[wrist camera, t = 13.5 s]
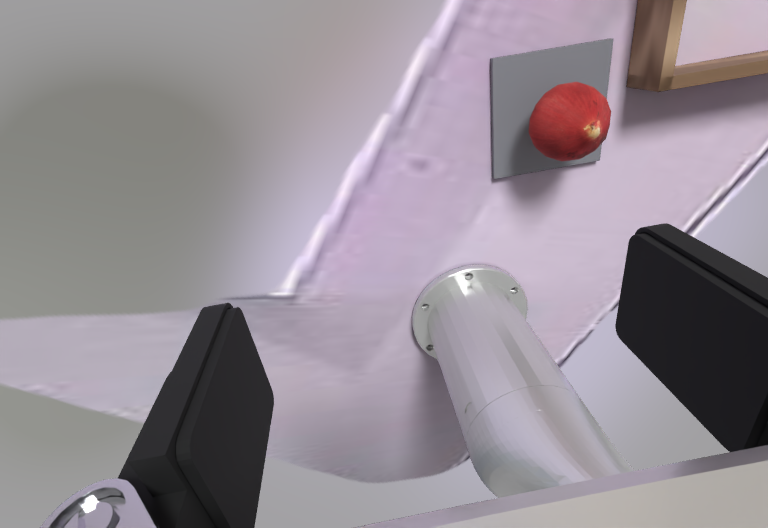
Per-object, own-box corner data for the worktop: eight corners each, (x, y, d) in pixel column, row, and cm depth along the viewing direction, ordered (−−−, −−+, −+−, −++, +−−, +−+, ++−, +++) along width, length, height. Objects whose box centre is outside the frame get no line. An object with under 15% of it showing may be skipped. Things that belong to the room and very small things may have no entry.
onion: (592, 107, 36) (656, 123, 29) (545, 161, 38) (594, 189, 31) (548, 63, 34) (605, 69, 27) (500, 123, 36) (541, 144, 29)
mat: (596, 159, 39) (599, 160, 38) (492, 177, 38) (494, 179, 38) (609, 38, 34) (613, 38, 33) (490, 58, 34) (492, 58, 33)
